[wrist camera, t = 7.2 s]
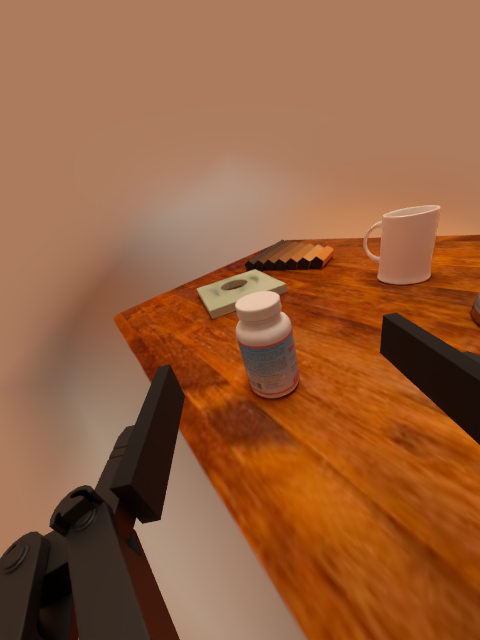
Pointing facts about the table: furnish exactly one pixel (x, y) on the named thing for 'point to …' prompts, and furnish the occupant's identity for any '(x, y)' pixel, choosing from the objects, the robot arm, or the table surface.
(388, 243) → the mug
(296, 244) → the pan flute
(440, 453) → the table surface
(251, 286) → the mounting pad
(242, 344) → the pill bottle
